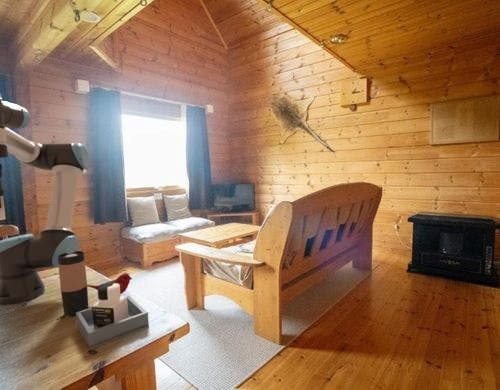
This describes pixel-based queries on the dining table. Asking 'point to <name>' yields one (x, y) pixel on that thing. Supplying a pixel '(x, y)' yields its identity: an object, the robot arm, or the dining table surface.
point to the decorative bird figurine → (121, 280)
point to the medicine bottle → (109, 306)
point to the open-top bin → (111, 325)
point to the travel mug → (73, 282)
